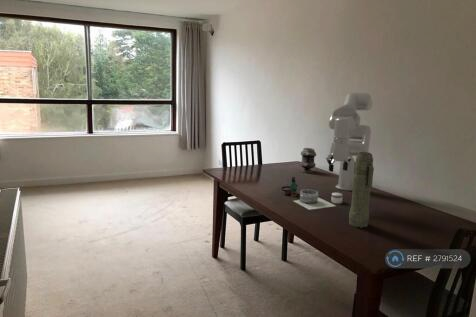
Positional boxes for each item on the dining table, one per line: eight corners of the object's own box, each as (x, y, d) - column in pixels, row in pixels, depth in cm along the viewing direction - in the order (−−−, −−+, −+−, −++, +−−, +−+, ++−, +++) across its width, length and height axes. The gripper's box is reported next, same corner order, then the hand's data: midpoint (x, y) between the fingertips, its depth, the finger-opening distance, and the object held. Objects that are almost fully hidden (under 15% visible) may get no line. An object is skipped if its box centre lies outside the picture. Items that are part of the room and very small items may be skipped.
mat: (318, 198, 211) (318, 197, 211) (336, 206, 197) (336, 205, 197) (292, 201, 204) (292, 200, 204) (308, 210, 189) (309, 209, 189)
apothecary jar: (316, 173, 272) (318, 150, 268) (300, 173, 272) (302, 149, 268) (313, 169, 284) (314, 147, 280) (298, 169, 284) (299, 147, 280)
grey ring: (310, 197, 210) (311, 188, 209) (321, 203, 201) (321, 193, 200) (296, 199, 206) (296, 190, 205) (306, 205, 197) (306, 195, 196)
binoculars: (281, 176, 220) (297, 176, 218) (282, 193, 222) (298, 193, 220) (280, 180, 211) (297, 179, 209) (281, 197, 213) (297, 197, 211)
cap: (337, 200, 208) (338, 192, 207) (344, 203, 202) (345, 195, 201) (328, 201, 205) (329, 193, 204) (335, 204, 200) (336, 196, 199)
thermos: (360, 230, 164) (367, 155, 157) (342, 221, 175) (348, 151, 168) (374, 227, 168) (382, 154, 161) (356, 219, 179) (363, 150, 172)
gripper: (348, 139, 204) (346, 168, 207) (323, 140, 197) (321, 170, 201) (357, 141, 197) (354, 171, 200) (331, 142, 190) (329, 173, 194)
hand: (338, 170), depth 200 cm, fingers open, 9 cm apart
